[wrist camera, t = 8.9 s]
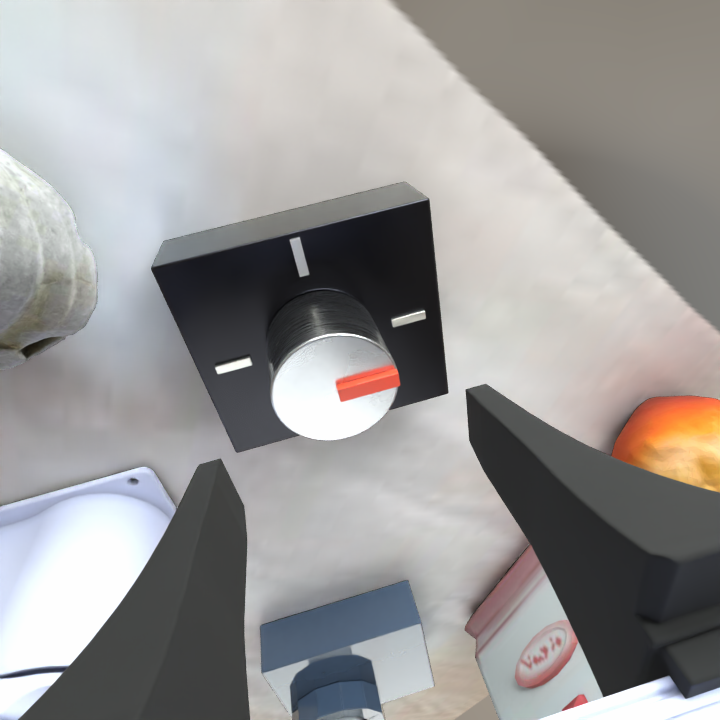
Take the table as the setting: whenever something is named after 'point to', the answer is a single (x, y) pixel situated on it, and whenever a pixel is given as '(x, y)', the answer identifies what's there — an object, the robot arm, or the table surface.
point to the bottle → (529, 647)
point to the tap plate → (301, 276)
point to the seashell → (39, 266)
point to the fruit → (674, 439)
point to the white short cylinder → (351, 718)
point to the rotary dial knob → (329, 367)
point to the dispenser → (347, 656)
